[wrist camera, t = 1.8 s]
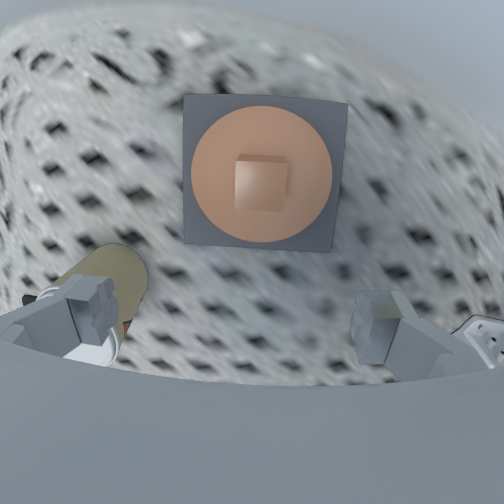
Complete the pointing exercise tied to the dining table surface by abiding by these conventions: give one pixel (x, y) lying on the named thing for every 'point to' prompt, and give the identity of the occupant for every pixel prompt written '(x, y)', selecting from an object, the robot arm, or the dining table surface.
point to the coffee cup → (126, 292)
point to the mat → (312, 111)
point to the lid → (261, 174)
